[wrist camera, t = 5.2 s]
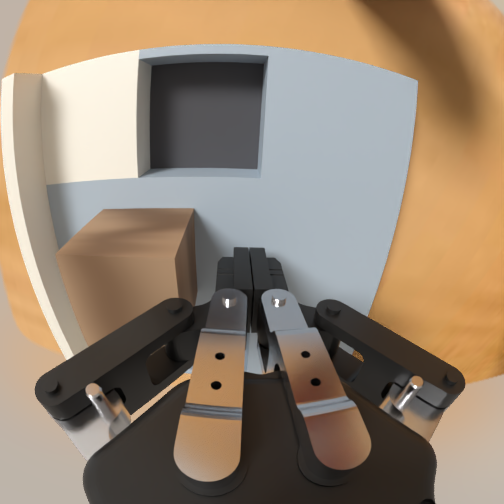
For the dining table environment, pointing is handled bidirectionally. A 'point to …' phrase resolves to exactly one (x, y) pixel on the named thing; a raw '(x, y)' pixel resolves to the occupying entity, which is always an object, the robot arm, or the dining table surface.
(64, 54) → the dining table surface
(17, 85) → the end stop
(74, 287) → the walnut block
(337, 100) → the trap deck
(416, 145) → the dining table surface
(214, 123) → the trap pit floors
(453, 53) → the dining table surface
